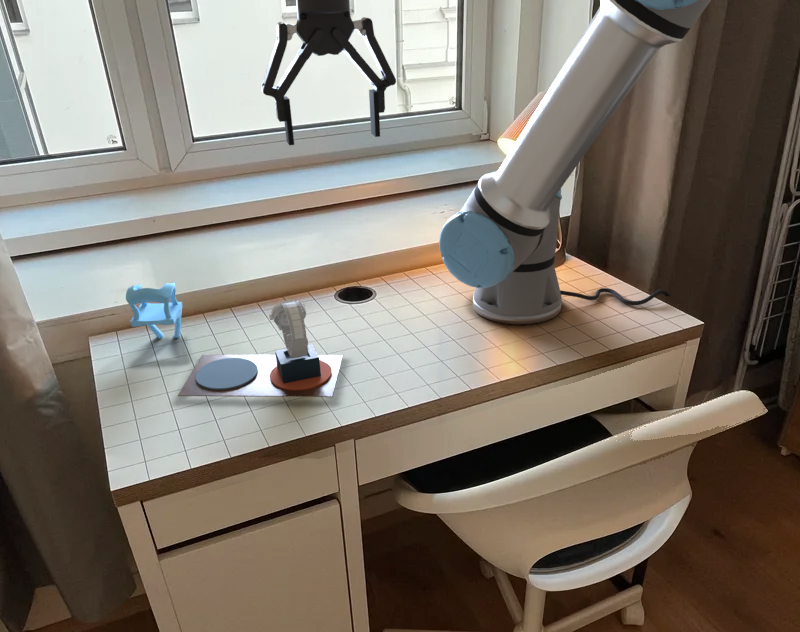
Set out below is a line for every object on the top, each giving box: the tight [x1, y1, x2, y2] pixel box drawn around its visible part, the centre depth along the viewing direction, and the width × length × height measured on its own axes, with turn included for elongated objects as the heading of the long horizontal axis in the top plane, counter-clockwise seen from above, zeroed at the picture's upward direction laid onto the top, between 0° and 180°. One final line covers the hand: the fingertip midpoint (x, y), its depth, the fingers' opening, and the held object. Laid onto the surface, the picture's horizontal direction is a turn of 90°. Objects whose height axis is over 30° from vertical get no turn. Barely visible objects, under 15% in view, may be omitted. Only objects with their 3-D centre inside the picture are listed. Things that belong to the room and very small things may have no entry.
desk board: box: [177, 354, 344, 398], centre depth 104 cm, size 22×12×1 cm, turn 87°
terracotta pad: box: [270, 360, 332, 391], centre depth 103 cm, size 9×9×1 cm
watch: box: [268, 299, 321, 383], centre depth 100 cm, size 6×8×11 cm
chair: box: [125, 281, 184, 340], centre depth 110 cm, size 8×8×12 cm
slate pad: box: [195, 358, 258, 390], centre depth 104 cm, size 9×9×1 cm
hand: (333, 139), depth 110 cm, fingers open, 13 cm apart
